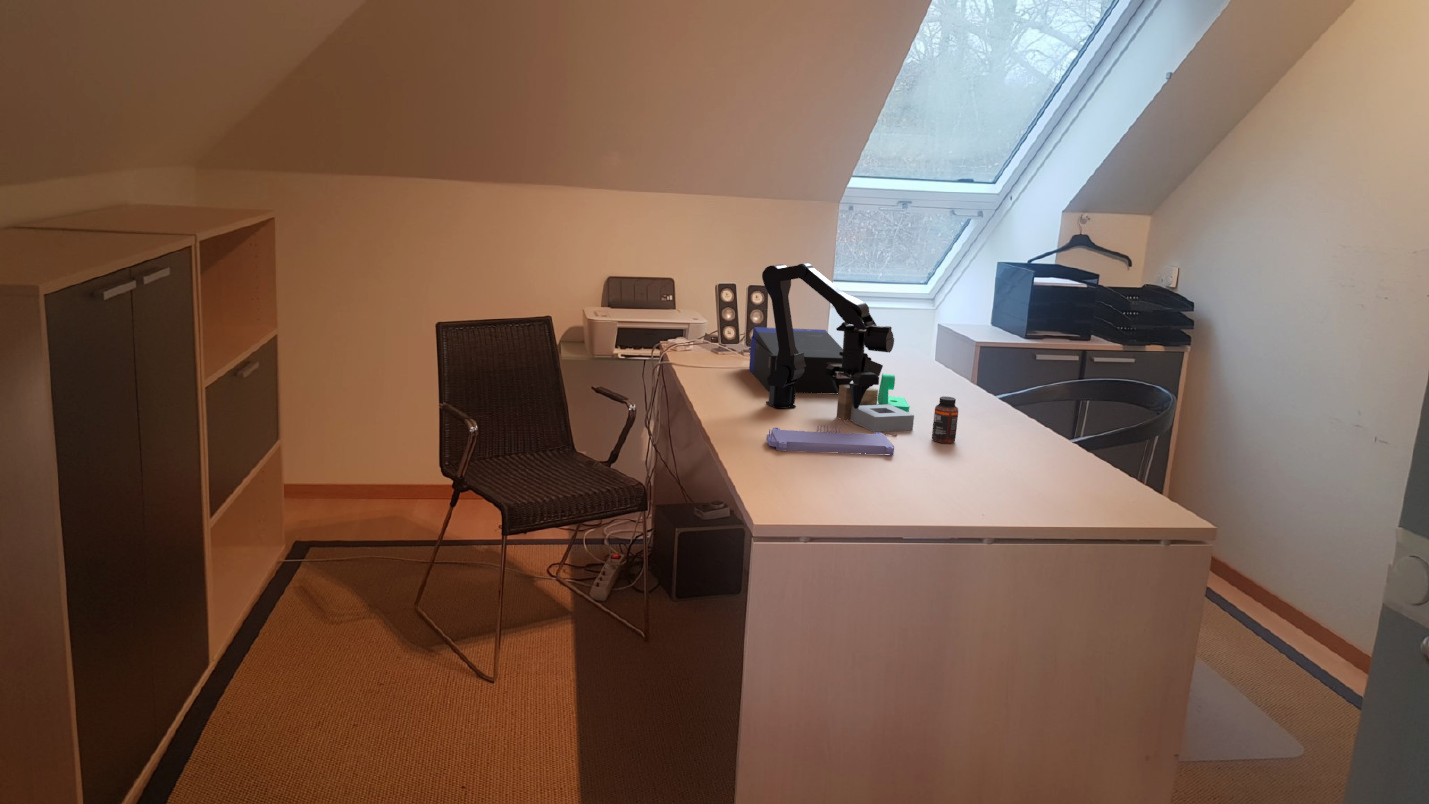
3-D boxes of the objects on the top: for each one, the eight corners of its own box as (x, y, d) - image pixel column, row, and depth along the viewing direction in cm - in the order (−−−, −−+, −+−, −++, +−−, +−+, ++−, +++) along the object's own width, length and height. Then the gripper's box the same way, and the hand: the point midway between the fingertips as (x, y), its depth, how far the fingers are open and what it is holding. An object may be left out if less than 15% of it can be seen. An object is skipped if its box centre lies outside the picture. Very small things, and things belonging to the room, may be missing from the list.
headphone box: (820, 370, 349) (823, 328, 346) (849, 395, 315) (853, 348, 312) (747, 368, 345) (750, 325, 342) (768, 392, 311) (772, 345, 308)
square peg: (843, 420, 283) (846, 388, 281) (836, 417, 287) (839, 384, 285) (856, 420, 285) (859, 387, 283) (849, 416, 288) (852, 384, 286)
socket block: (873, 432, 273) (875, 417, 272) (850, 420, 284) (851, 405, 283) (912, 429, 278) (914, 415, 277) (888, 418, 289) (889, 404, 288)
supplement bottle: (956, 440, 271) (961, 397, 268) (953, 445, 265) (958, 401, 263) (932, 436, 273) (937, 394, 270) (929, 441, 267) (934, 398, 264)
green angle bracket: (908, 416, 294) (912, 380, 291) (881, 414, 294) (885, 378, 292) (903, 406, 306) (907, 371, 303) (877, 404, 306) (880, 369, 303)
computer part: (763, 437, 263) (770, 454, 248) (764, 420, 262) (771, 436, 247) (881, 442, 265) (895, 459, 251) (883, 426, 264) (897, 442, 250)
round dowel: (862, 412, 293) (864, 391, 292) (852, 407, 298) (854, 387, 297) (879, 412, 296) (881, 391, 294) (869, 407, 301) (871, 386, 299)
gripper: (898, 353, 276) (894, 411, 278) (861, 343, 292) (857, 399, 295) (861, 353, 271) (857, 413, 274) (826, 344, 288) (823, 400, 291)
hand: (849, 406), depth 284 cm, fingers open, 6 cm apart
